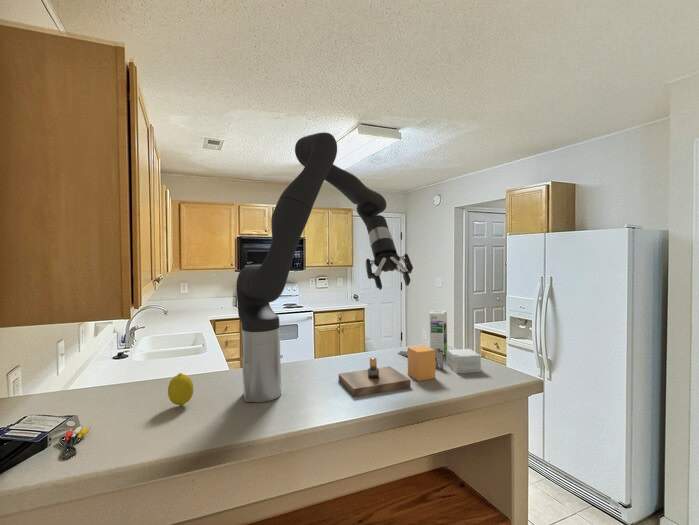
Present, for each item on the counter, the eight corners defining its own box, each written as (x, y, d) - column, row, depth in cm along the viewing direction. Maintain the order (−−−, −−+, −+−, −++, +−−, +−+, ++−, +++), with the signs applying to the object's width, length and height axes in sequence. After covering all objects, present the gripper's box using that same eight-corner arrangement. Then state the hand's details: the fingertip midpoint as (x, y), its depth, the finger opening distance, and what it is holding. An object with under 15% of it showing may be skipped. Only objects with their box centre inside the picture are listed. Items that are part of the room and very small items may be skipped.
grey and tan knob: (370, 379, 96) (370, 360, 96) (366, 375, 99) (365, 357, 99) (380, 377, 97) (380, 359, 97) (376, 374, 100) (375, 356, 100)
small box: (470, 364, 114) (469, 348, 114) (481, 372, 106) (481, 355, 106) (446, 365, 113) (445, 349, 113) (455, 373, 106) (455, 356, 105)
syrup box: (429, 354, 125) (429, 312, 124) (431, 349, 130) (430, 309, 130) (446, 355, 123) (446, 313, 123) (447, 350, 129) (447, 310, 128)
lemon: (169, 403, 88) (168, 371, 88) (194, 400, 90) (193, 368, 90) (167, 413, 83) (165, 378, 83) (193, 409, 85) (192, 375, 85)
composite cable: (75, 459, 66) (74, 445, 66) (42, 465, 64) (42, 451, 64) (91, 434, 75) (91, 422, 75) (63, 438, 73) (63, 426, 73)
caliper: (443, 369, 110) (443, 349, 110) (440, 370, 109) (440, 349, 109) (399, 353, 127) (399, 336, 127) (397, 354, 127) (397, 336, 126)
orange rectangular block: (418, 380, 100) (417, 352, 100) (408, 374, 105) (407, 347, 105) (435, 378, 102) (435, 349, 102) (424, 371, 107) (424, 345, 107)
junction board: (354, 396, 90) (353, 388, 90) (338, 380, 101) (338, 373, 101) (410, 387, 96) (410, 379, 95) (390, 373, 107) (389, 366, 107)
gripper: (361, 239, 115) (372, 283, 106) (404, 234, 117) (419, 276, 108) (360, 253, 121) (370, 295, 113) (401, 247, 123) (414, 289, 115)
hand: (394, 286), depth 110 cm, fingers open, 8 cm apart
